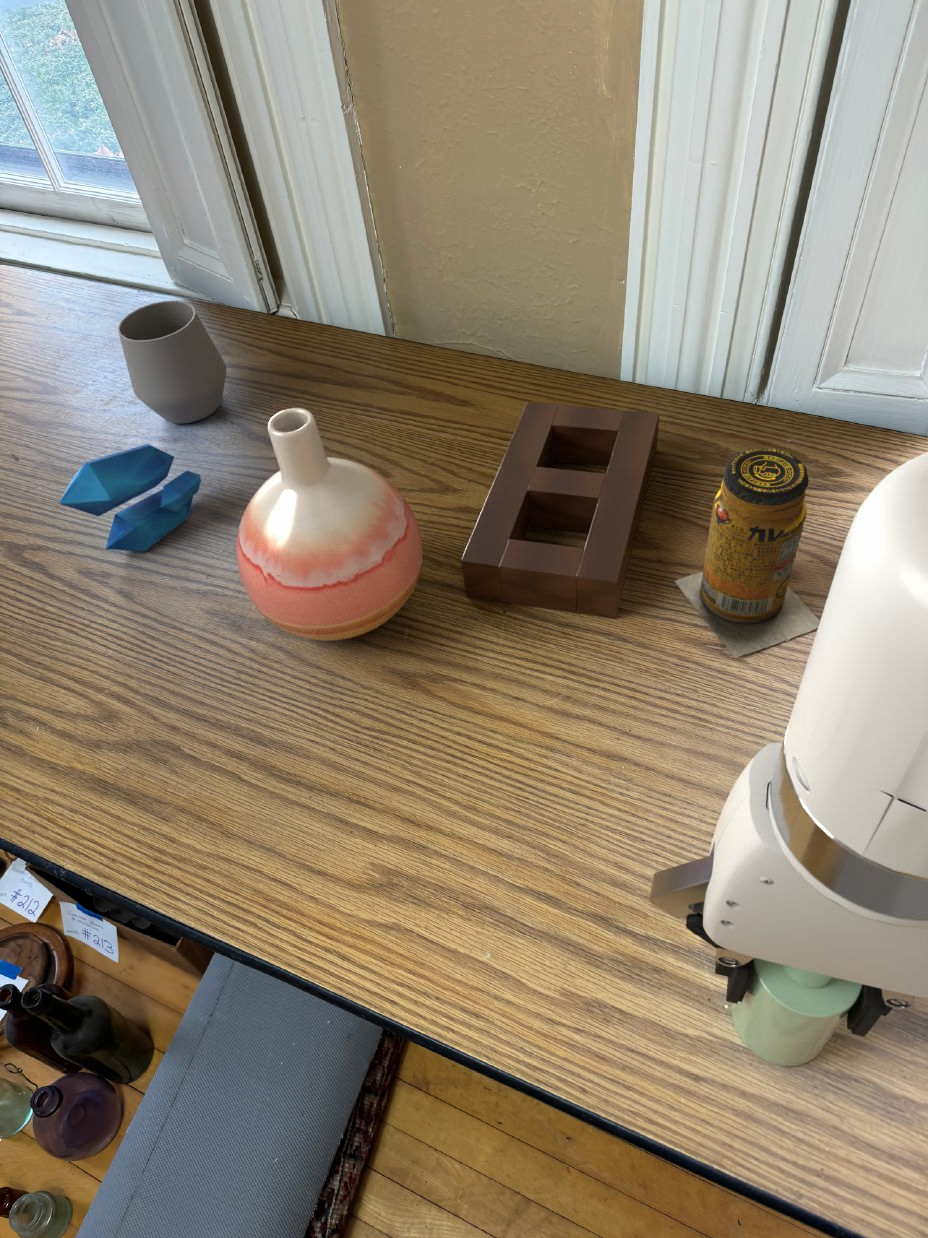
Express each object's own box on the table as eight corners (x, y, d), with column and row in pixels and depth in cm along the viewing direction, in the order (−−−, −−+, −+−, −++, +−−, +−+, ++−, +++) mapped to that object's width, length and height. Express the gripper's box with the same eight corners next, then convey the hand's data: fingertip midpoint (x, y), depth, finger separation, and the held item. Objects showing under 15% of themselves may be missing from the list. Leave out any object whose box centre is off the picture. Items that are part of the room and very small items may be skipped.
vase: (465, 578, 69) (436, 389, 55) (362, 699, 62) (301, 516, 48) (335, 526, 74) (281, 344, 61) (227, 632, 67) (140, 452, 54)
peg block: (656, 450, 77) (659, 412, 74) (615, 619, 64) (617, 582, 61) (528, 438, 80) (526, 401, 77) (466, 596, 67) (460, 560, 64)
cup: (248, 382, 92) (218, 294, 84) (220, 435, 85) (185, 345, 78) (167, 383, 93) (130, 296, 86) (133, 435, 87) (91, 347, 80)
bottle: (828, 983, 46) (875, 906, 38) (825, 1079, 43) (876, 1016, 35) (735, 960, 47) (763, 881, 40) (726, 1052, 44) (754, 985, 37)
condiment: (757, 553, 67) (783, 426, 58) (823, 627, 61) (863, 499, 53) (673, 583, 66) (687, 458, 57) (734, 661, 60) (759, 536, 51)
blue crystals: (211, 443, 73) (83, 495, 65) (225, 529, 78) (108, 586, 71) (158, 416, 76) (31, 463, 69) (175, 501, 82) (59, 552, 74)
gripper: (1175, 750, 28) (982, 955, 41) (649, 665, 32) (630, 875, 46) (1237, 979, 23) (997, 1126, 37) (614, 843, 28) (605, 1018, 41)
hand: (794, 985), depth 41 cm, fingers closed on bottle, 4 cm apart
